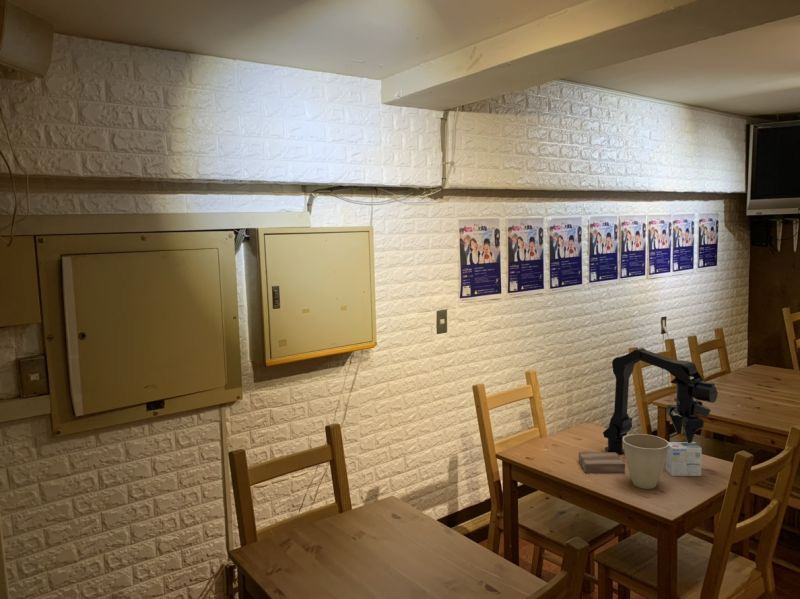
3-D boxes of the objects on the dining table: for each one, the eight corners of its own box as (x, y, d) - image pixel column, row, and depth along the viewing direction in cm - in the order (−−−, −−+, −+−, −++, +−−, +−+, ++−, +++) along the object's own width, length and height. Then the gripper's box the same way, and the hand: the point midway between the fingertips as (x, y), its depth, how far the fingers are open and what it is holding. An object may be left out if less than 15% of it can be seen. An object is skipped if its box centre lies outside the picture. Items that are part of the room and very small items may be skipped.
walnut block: (578, 462, 236) (578, 452, 235) (615, 462, 235) (615, 452, 234) (586, 474, 224) (586, 464, 223) (624, 474, 223) (624, 464, 222)
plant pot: (638, 496, 204) (639, 450, 202) (614, 478, 218) (614, 436, 217) (677, 490, 207) (678, 446, 205) (650, 474, 221) (651, 432, 220)
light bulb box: (694, 469, 224) (695, 441, 223) (702, 476, 218) (702, 447, 217) (664, 469, 226) (665, 441, 224) (671, 476, 219) (671, 447, 218)
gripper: (720, 403, 209) (718, 447, 210) (696, 389, 227) (695, 429, 229) (687, 404, 209) (686, 447, 211) (666, 390, 228) (665, 430, 230)
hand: (684, 438), depth 220 cm, fingers open, 9 cm apart
